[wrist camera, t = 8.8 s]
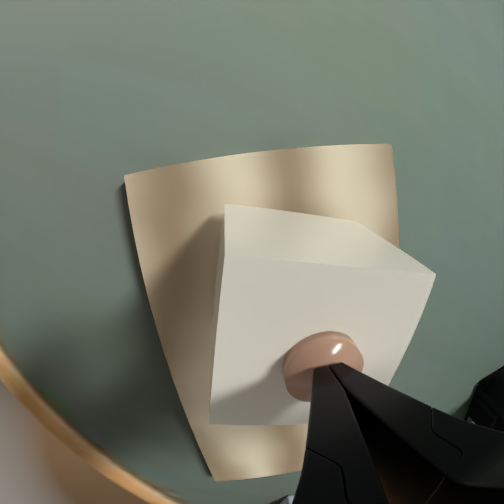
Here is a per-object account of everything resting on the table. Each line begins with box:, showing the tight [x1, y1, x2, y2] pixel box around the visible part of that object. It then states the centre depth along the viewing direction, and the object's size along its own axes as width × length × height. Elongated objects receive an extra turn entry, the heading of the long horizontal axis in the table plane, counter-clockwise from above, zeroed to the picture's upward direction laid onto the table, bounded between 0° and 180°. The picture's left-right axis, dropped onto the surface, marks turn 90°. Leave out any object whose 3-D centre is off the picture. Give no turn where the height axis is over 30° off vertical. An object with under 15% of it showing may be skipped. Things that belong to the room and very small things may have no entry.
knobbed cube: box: [209, 204, 436, 425], centre depth 11 cm, size 6×6×7 cm
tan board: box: [124, 144, 399, 481], centre depth 15 cm, size 14×24×4 cm, turn 8°
